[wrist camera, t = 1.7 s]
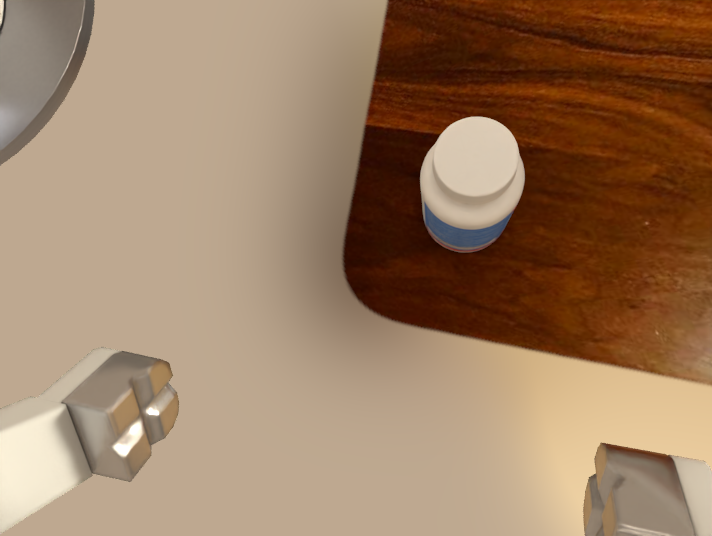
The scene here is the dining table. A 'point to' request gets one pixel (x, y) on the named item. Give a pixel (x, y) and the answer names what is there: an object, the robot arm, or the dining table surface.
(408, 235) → the dining table surface
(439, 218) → the pill bottle
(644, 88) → the dining table surface
